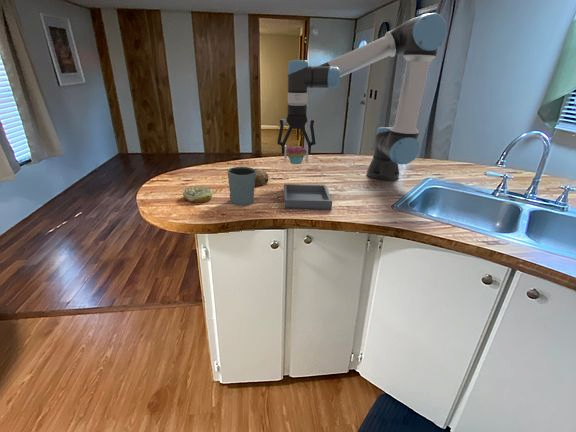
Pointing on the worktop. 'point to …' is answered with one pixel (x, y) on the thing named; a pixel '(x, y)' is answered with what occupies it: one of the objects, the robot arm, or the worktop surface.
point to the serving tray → (307, 197)
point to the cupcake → (296, 153)
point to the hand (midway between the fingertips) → (295, 161)
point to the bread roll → (261, 177)
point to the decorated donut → (197, 194)
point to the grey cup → (241, 185)
